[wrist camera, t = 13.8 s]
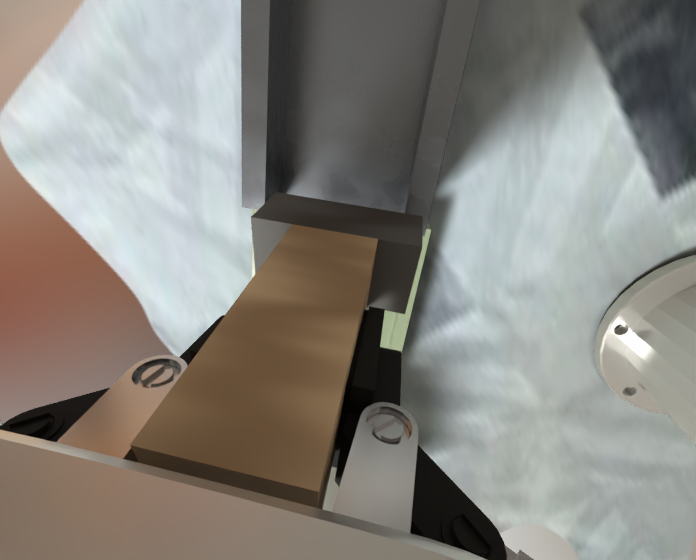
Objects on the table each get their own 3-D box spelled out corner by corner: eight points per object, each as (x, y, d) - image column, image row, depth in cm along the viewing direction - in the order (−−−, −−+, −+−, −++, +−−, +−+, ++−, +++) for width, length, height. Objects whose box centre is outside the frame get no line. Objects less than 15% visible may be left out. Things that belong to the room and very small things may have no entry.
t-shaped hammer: (422, 216, 13) (421, 517, 5) (407, 278, 15) (386, 579, 7) (276, 192, 14) (42, 423, 5) (277, 254, 16) (104, 503, 7)
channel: (479, -76, 16) (522, -177, 11) (417, 209, 22) (424, 236, 17) (289, -96, 17) (240, -202, 11) (278, 188, 23) (242, 206, 17)
